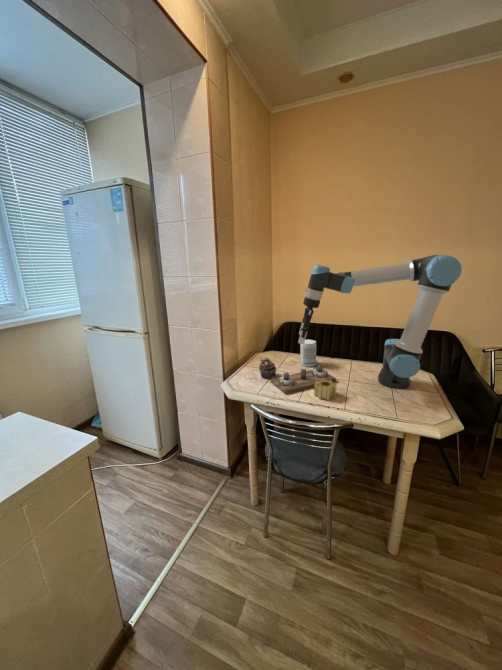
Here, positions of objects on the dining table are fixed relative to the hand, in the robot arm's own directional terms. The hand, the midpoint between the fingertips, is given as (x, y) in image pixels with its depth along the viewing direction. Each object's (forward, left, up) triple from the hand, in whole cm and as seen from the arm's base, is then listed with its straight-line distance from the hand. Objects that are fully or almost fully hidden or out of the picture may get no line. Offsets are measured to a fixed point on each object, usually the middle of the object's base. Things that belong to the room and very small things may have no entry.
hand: (301, 339), depth 140 cm
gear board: (+2, -3, -25) cm, 25 cm away
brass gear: (-15, -4, -25) cm, 30 cm away
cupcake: (+18, +10, -25) cm, 32 cm away
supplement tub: (+22, -20, -25) cm, 39 cm away
